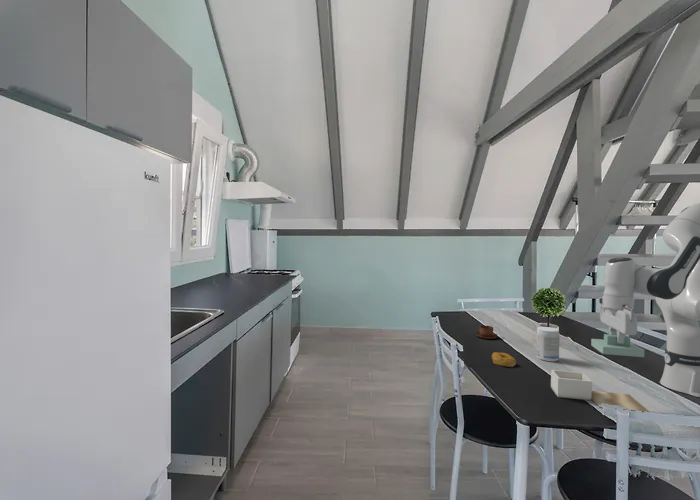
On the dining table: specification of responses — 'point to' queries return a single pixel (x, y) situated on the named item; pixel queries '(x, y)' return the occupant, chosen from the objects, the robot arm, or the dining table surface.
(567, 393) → the storage box
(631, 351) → the lid
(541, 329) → the supplement tub
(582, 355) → the dining table surface
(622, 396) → the cork mat
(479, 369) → the dining table surface
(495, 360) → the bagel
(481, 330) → the cup and saucer
